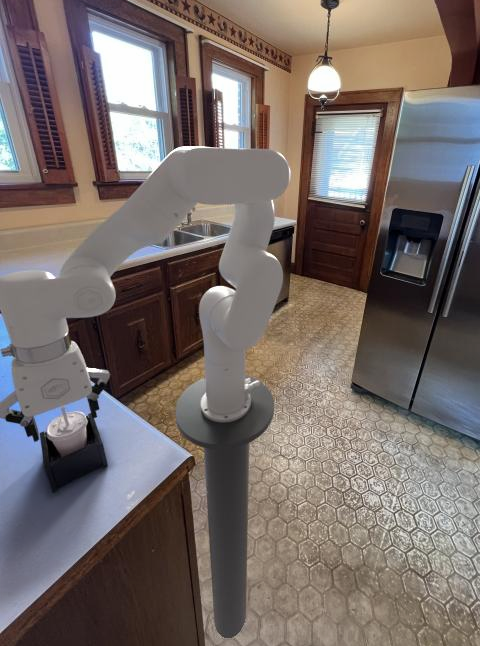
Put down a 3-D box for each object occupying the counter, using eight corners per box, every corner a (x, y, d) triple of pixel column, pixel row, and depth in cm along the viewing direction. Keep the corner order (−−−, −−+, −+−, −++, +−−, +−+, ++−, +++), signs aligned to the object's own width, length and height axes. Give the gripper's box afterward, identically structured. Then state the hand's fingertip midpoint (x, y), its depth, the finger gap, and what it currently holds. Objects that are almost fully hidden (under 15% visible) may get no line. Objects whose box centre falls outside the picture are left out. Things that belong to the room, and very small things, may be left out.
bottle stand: (97, 433, 68) (92, 412, 65) (108, 465, 61) (102, 443, 59) (46, 454, 62) (39, 432, 60) (52, 493, 56) (44, 470, 53)
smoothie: (65, 481, 58) (47, 425, 52) (52, 462, 61) (33, 407, 55) (101, 458, 62) (88, 404, 57) (87, 441, 66) (73, 388, 60)
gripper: (-31, 377, 43) (6, 464, 50) (107, 339, 54) (122, 415, 60) (-27, 351, 48) (5, 433, 55) (98, 322, 59) (112, 394, 66)
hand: (66, 424), depth 58 cm, fingers open, 8 cm apart
